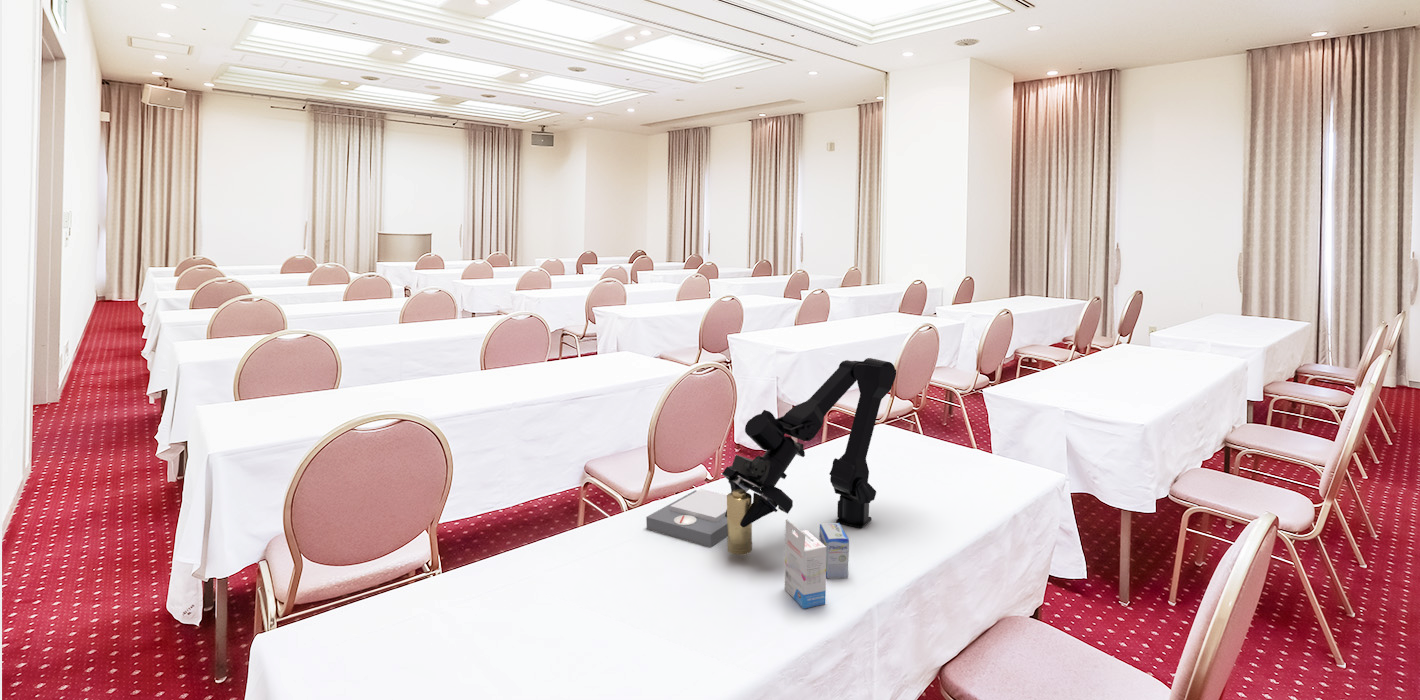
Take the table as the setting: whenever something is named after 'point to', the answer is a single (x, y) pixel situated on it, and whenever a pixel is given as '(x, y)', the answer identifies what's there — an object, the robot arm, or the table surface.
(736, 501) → the brass weight
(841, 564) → the medicine box
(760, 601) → the table surface
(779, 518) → the table surface
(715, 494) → the scale
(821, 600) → the ink box
